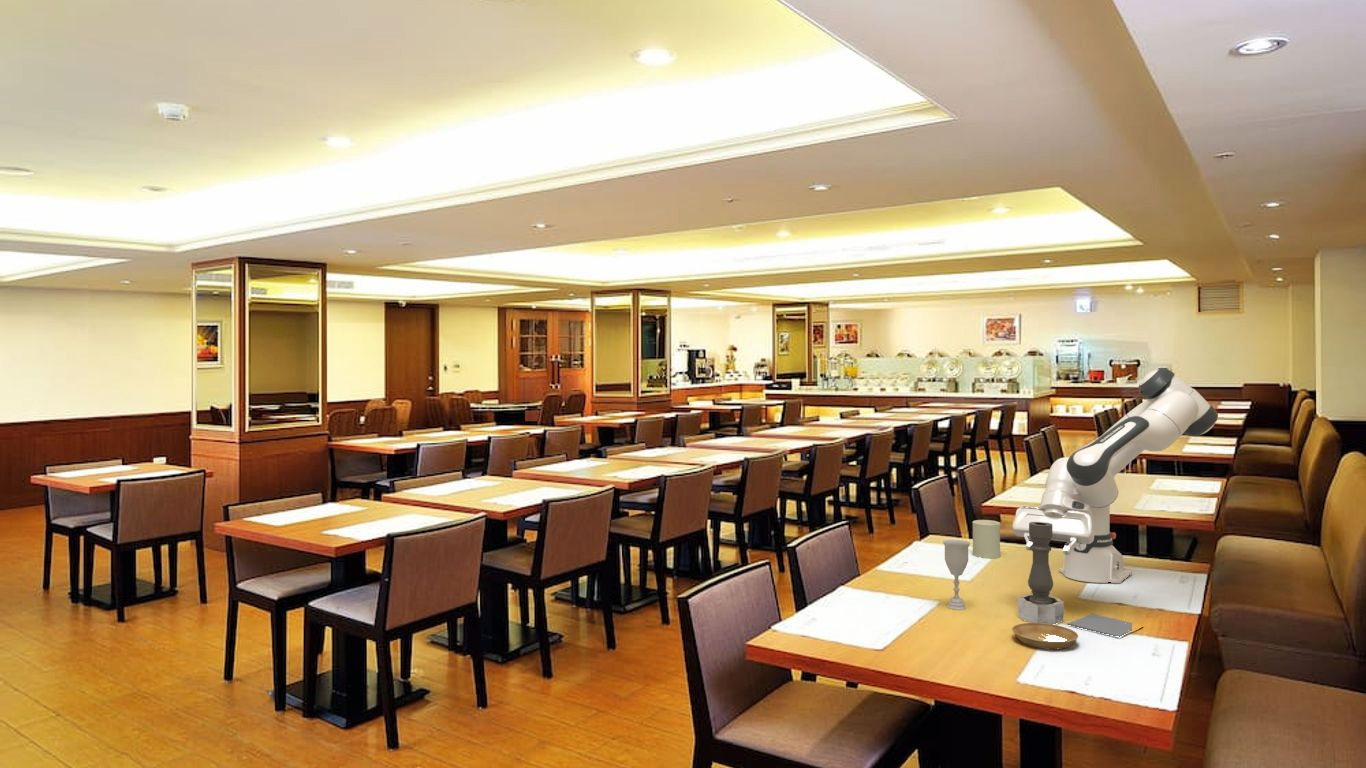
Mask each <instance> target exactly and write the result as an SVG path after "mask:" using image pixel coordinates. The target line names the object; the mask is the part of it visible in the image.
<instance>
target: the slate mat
mask: <svg viewBox="0 0 1366 768" xmlns="http://www.w3.org/2000/svg"><path fill="white" fill-rule="evenodd" d="M1125 623H1126V624H1125ZM1132 623H1133V622H1131V621H1130V622H1129V621H1127V620H1122V619H1118V618H1113V617H1108V616H1103V615H1102V614H1101V615H1100V614H1096V613H1090V614H1088V615H1085V616H1082V617H1080V618H1078V619H1075V620H1073V621H1070V622H1068V623H1067V624H1066V625H1071V626H1075V627H1079V628H1083V629H1087V630H1091V631H1096V632H1100V633H1104V634H1109V635H1113V636H1119V637H1120V636H1122V635H1124V634H1126V633H1128V632H1129V631H1132ZM1128 630H1129V631H1128Z"/></svg>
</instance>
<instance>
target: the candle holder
mask: <svg viewBox="0 0 1366 768" xmlns="http://www.w3.org/2000/svg"><path fill="white" fill-rule="evenodd" d="M1029 536H1030V539H1031V540H1030V541H1031V542H1033V544H1032V545H1031V546H1030V549H1031V550H1032V551H1031V550H1030V551H1031V552H1032V564H1031V568H1030V572H1029V577H1028V581H1027V584H1028V586H1029V589H1030V590H1031V594H1033V595H1032V596H1031V597H1030V598H1029V602H1033V603H1038V604H1052V600H1051V598H1050V597H1049V596H1050V592H1051V591H1052V589H1053V587H1054V580H1053V576H1052V572H1051V568H1050V563H1049V559H1050V558H1049V556H1050V555H1049V554H1050V552H1051V551H1052V547H1051V546H1050V545H1049V544H1050V542H1051V541H1052V540H1051V537H1052V524H1051V523H1046V522H1030V523H1029Z"/></svg>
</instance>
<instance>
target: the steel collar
mask: <svg viewBox="0 0 1366 768" xmlns="http://www.w3.org/2000/svg"><path fill="white" fill-rule="evenodd" d="M1032 595H1033V593H1025V594H1023V595H1022V594H1021V595H1019V596H1018V597H1017V606H1018V607H1017V614H1018V615H1017V616H1018V617H1019V618H1020V619H1021V620H1022V621H1024V622H1026V623H1046V624H1056V623H1058V622H1061V621H1063V622H1064V601H1063V600H1061V599H1060V597H1057V596H1053V595H1049V597H1050V598H1051V600H1052V604H1038V603H1033V602H1029V598H1030V597H1031V596H1032ZM1061 623H1062V622H1061ZM1058 624H1059V623H1058ZM1056 625H1057V624H1056Z"/></svg>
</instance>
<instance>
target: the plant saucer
mask: <svg viewBox="0 0 1366 768" xmlns="http://www.w3.org/2000/svg"><path fill="white" fill-rule="evenodd" d="M1011 630H1012V632H1013V634H1014V635H1015V636H1016V638H1017V639H1018V640H1020V641H1021V642H1022V643H1023V644H1025V645H1028V646H1031V647H1033V648H1038V647H1039V648H1038V649H1044V648H1049V649H1048V650H1058V649H1057V648H1062V649H1066V648H1069V647H1070V646H1071V645H1073V643H1075V642H1076V640H1078V639H1079V634H1078V633H1077V632H1076V631H1075V630H1072V629H1071V628H1068V627H1065V626H1062V625H1058V624H1056V625H1053V624H1046V623H1031V622H1024V623H1019V624H1015V625H1013V626H1012V627H1011ZM1041 634H1043V635H1045V636H1048V635H1046V634H1049V635H1056V636H1059V637H1062V638H1065V639H1067V641H1065V642H1048V641H1043V640H1041V639H1039V638H1038V637H1040V638H1044V639H1046V638H1045V637H1044V636H1042V635H1041ZM1065 647H1066V648H1065Z"/></svg>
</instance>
